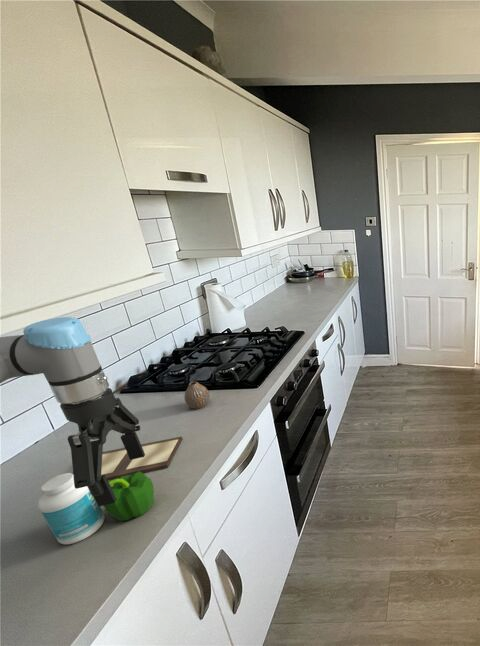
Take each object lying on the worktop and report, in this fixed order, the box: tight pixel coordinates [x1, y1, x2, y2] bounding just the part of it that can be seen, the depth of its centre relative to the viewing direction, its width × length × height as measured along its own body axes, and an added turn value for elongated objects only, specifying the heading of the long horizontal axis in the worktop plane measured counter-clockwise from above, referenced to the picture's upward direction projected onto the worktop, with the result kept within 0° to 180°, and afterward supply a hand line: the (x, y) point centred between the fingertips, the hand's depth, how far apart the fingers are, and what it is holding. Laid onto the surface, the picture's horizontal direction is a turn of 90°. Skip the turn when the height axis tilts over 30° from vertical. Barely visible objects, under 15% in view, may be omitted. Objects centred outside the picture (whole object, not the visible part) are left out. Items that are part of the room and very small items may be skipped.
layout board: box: [101, 436, 184, 482], centre depth 93 cm, size 22×12×1 cm, turn 108°
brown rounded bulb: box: [183, 381, 210, 410], centre depth 116 cm, size 7×7×9 cm
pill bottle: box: [37, 472, 106, 545], centre depth 72 cm, size 8×7×14 cm
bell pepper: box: [103, 471, 155, 522], centre depth 77 cm, size 8×8×10 cm
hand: (124, 478), depth 76 cm, fingers open, 13 cm apart
